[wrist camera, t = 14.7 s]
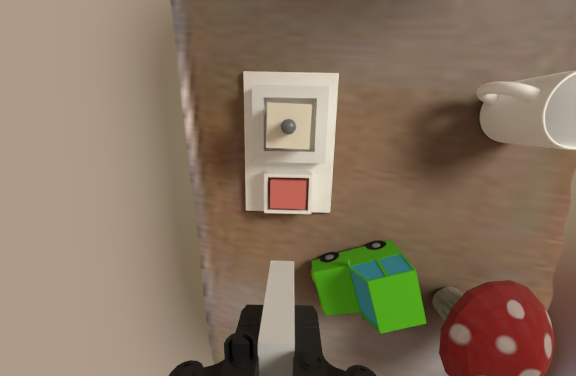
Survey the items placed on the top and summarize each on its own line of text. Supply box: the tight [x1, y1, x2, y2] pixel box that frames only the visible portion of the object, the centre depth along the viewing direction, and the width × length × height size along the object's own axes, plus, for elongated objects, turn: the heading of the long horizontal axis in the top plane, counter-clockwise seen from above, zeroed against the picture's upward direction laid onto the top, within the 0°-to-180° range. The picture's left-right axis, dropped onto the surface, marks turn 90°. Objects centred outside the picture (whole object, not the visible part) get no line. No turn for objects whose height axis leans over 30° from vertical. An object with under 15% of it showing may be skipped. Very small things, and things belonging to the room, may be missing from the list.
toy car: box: [311, 240, 427, 334], centre depth 39 cm, size 10×13×10 cm
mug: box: [476, 70, 576, 150], centre depth 33 cm, size 12×8×10 cm
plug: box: [266, 102, 312, 150], centre depth 33 cm, size 5×5×10 cm
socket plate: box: [243, 71, 339, 214], centre depth 38 cm, size 20×13×3 cm, turn 179°
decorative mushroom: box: [432, 280, 554, 376], centre depth 38 cm, size 16×16×15 cm
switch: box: [270, 178, 306, 209], centre depth 38 cm, size 4×5×2 cm
